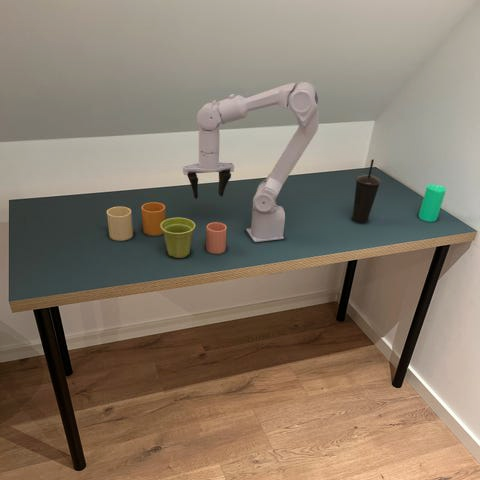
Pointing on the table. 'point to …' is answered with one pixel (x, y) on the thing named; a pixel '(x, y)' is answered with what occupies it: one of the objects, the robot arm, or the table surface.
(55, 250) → the table surface
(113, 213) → the cream cup
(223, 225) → the rose cup
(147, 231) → the ochre cup
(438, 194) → the candle
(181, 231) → the plant pot
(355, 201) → the drinking cup
